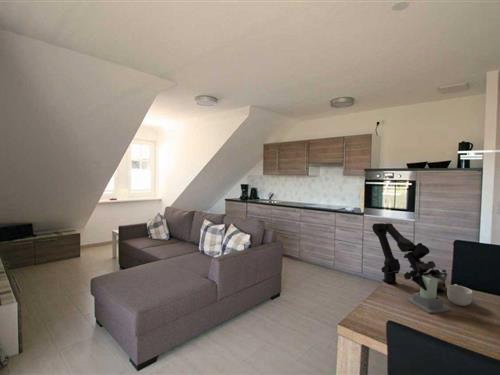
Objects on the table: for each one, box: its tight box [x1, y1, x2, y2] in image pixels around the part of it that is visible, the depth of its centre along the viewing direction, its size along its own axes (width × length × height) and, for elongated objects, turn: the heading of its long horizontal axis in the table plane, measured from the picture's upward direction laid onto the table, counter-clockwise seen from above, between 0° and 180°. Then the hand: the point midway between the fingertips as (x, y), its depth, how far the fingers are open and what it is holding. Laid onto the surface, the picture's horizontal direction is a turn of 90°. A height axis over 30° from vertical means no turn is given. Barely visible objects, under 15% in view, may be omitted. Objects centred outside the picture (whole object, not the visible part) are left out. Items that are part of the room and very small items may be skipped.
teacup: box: [446, 283, 473, 307], centre depth 144 cm, size 14×11×8 cm
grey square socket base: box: [405, 291, 452, 315], centre depth 140 cm, size 14×14×5 cm
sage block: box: [419, 275, 438, 300], centre depth 140 cm, size 5×5×13 cm
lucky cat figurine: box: [427, 268, 448, 292], centre depth 161 cm, size 15×12×14 cm
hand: (430, 290), depth 138 cm, fingers closed on sage block, 5 cm apart
